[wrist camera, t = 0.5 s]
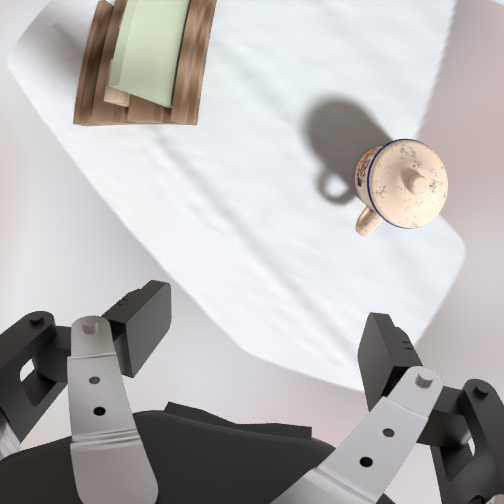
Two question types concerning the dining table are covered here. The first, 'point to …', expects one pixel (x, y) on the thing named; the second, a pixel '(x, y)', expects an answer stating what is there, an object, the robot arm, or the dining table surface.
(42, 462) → the robot arm
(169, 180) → the dining table surface
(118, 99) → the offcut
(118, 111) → the rack
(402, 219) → the teacup with lid
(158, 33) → the panel
